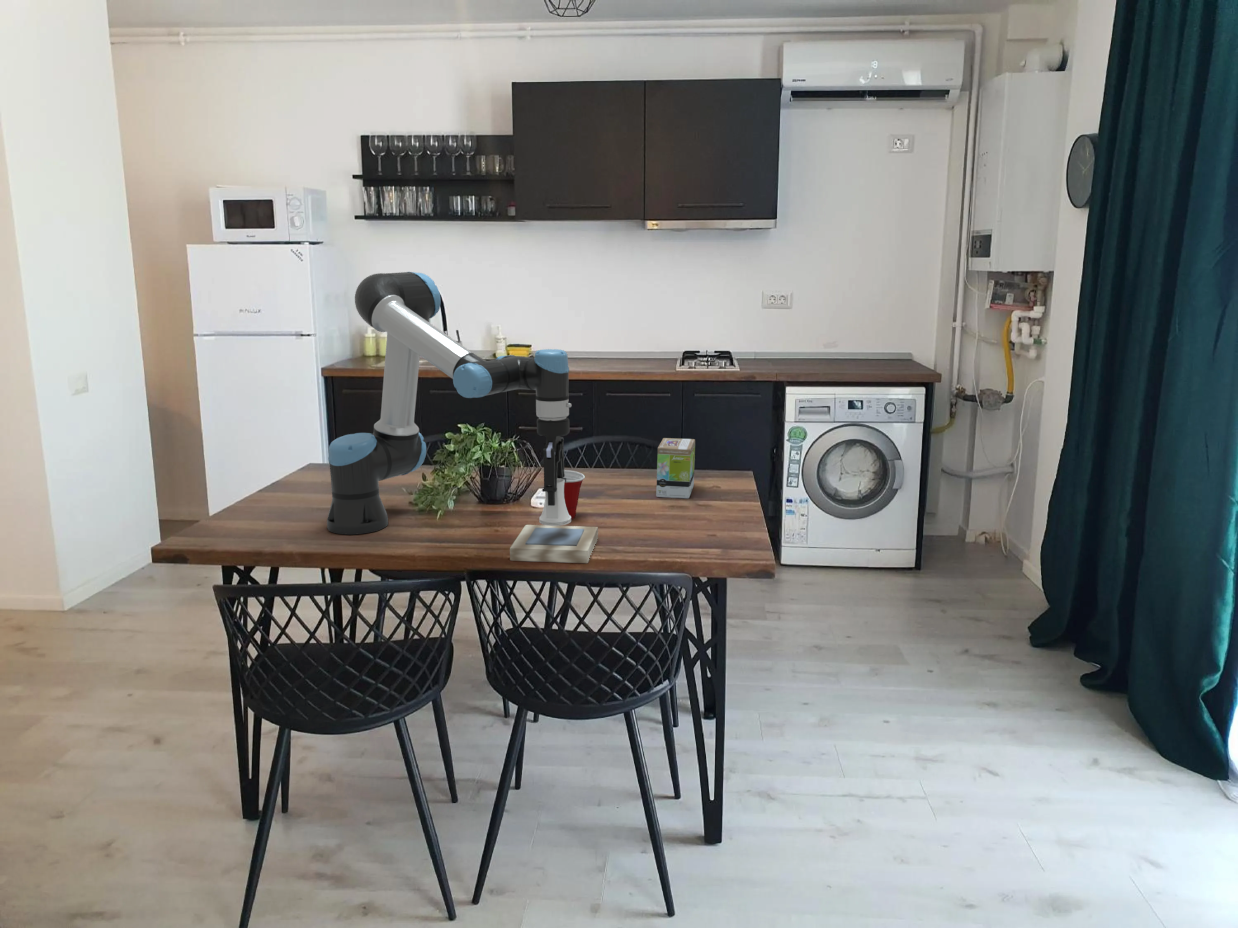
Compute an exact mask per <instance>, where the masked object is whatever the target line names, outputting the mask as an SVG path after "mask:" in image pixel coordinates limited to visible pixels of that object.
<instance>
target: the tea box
mask: <svg viewBox="0 0 1238 928" xmlns="http://www.w3.org/2000/svg"><path fill="white" fill-rule="evenodd" d="M695 454H696V439H694V438H676V437H675V438H673V437H672V438H671V437H663V438H662V440H661V442H660V443H659V445H658V447H657V457H656V458H657V461H656V492H655V495H656V497H657V498H670V499H671V498H672V499H690V496H691V494H692V491H693V488H694V485H695V461H696V459H695V457H696V455H695Z"/></svg>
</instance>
